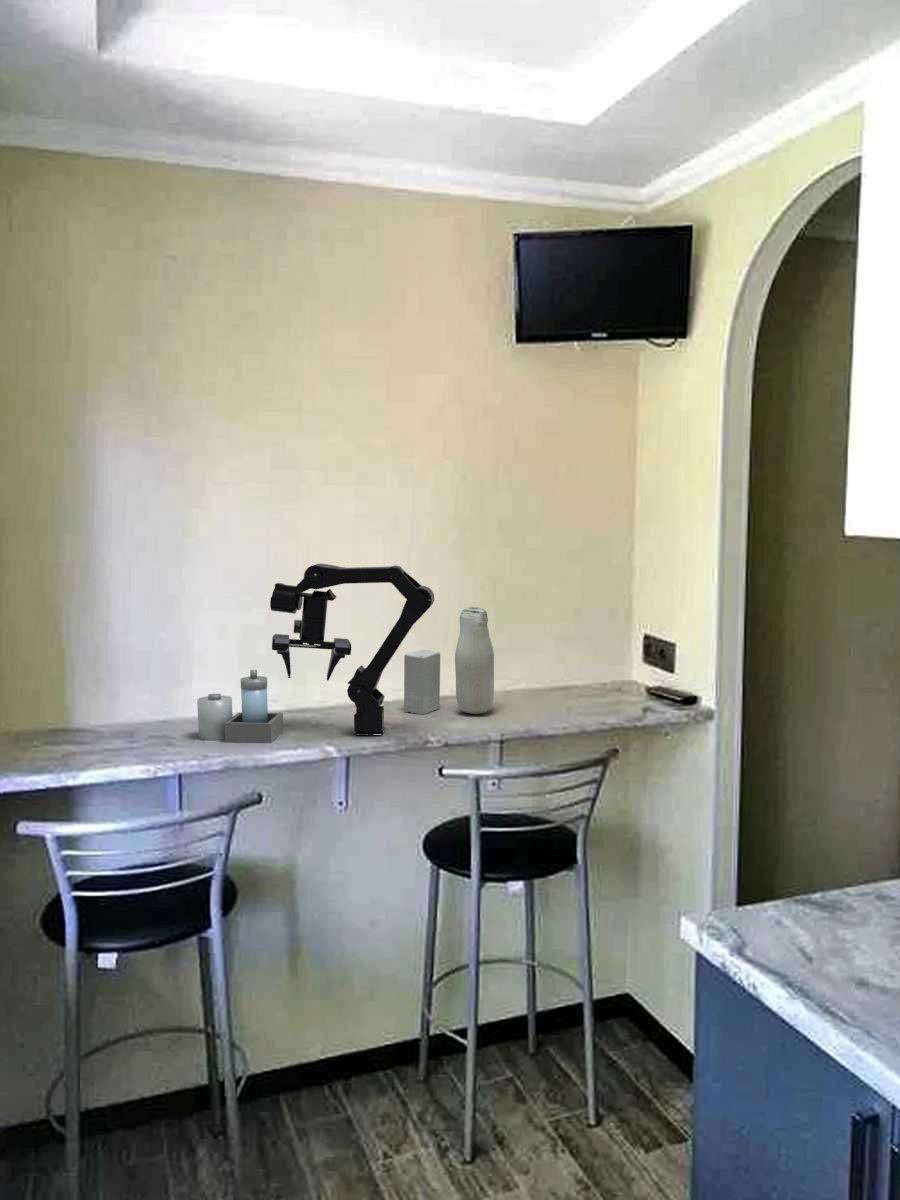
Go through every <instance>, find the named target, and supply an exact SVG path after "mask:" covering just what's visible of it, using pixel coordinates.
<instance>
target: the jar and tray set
mask: <svg viewBox="0 0 900 1200" xmlns="http://www.w3.org/2000/svg"><path fill="white" fill-rule="evenodd" d="M197 725H198V726H197V729H198V733H197V734H198V739H200V740H202V739H204V740H203V741H220V739H222V740H224V742H225V743H248V742H272V741H273V740H274V739H275V738H276V737H277V736H278V735H279V734H280V735H281V734H282V733H283V732H284V713H282V712H268V723H247V722H242V712H238V713H236V714H234V715H233V697H232V696H228V695H222V694H221V693H210V694H208V695H207V696H202V697H199V698H198V699H197ZM280 735H279V736H280ZM279 736H278V737H279ZM278 737H277V738H278ZM277 738H276V739H277ZM276 739H275V740H276ZM275 740H274V741H275ZM274 741H273V742H274ZM273 742H272V743H273Z"/></svg>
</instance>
